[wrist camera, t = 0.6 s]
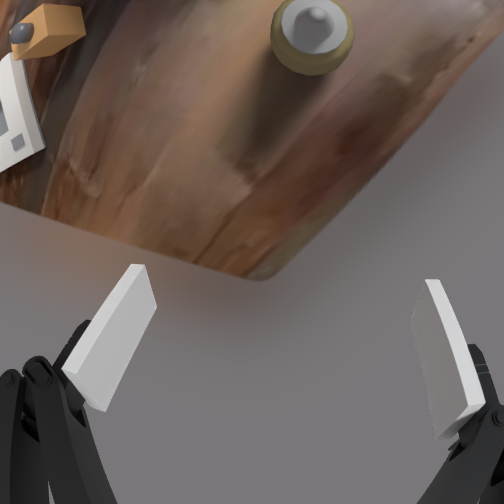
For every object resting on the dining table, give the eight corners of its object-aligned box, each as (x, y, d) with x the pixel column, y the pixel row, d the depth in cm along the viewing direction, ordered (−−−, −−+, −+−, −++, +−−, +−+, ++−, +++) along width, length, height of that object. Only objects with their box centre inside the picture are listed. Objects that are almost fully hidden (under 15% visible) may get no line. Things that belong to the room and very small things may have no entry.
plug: (47, 29, 29) (-1, 32, 21) (80, 6, 27) (31, 3, 19) (52, 55, 32) (3, 63, 23) (86, 34, 30) (36, 35, 22)
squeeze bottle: (327, 87, 31) (351, 101, 16) (262, 58, 30) (225, 45, 16) (356, 31, 27) (404, -2, 12) (290, 1, 26) (279, -58, 11)
